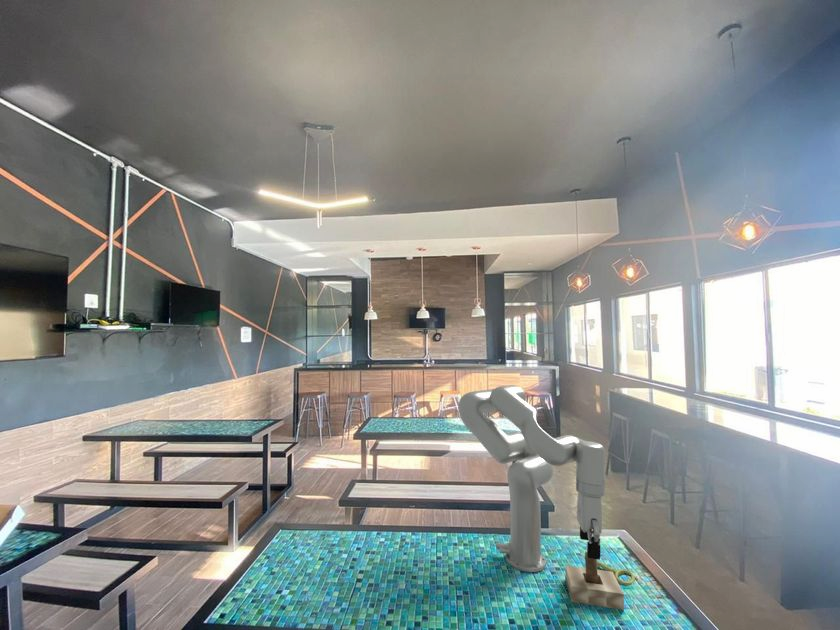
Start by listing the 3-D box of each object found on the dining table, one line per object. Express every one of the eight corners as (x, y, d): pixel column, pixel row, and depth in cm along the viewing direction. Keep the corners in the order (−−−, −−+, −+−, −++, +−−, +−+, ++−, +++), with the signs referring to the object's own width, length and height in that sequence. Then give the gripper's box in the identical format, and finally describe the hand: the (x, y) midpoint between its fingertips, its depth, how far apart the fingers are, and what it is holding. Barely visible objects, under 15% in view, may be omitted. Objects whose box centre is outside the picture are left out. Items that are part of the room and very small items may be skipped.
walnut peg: (588, 595, 103) (586, 557, 104) (586, 588, 106) (583, 551, 107) (600, 596, 102) (597, 558, 103) (597, 590, 105) (594, 552, 106)
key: (590, 564, 119) (590, 557, 119) (635, 576, 113) (634, 569, 113) (588, 575, 113) (588, 568, 113) (635, 590, 107) (634, 582, 107)
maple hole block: (571, 601, 100) (571, 586, 101) (565, 579, 110) (565, 565, 110) (624, 610, 98) (623, 593, 98) (613, 586, 107) (612, 571, 108)
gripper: (570, 474, 116) (570, 531, 115) (582, 497, 99) (581, 564, 98) (596, 477, 114) (596, 535, 113) (613, 501, 97) (612, 569, 96)
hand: (589, 548), depth 105 cm, fingers open, 9 cm apart
